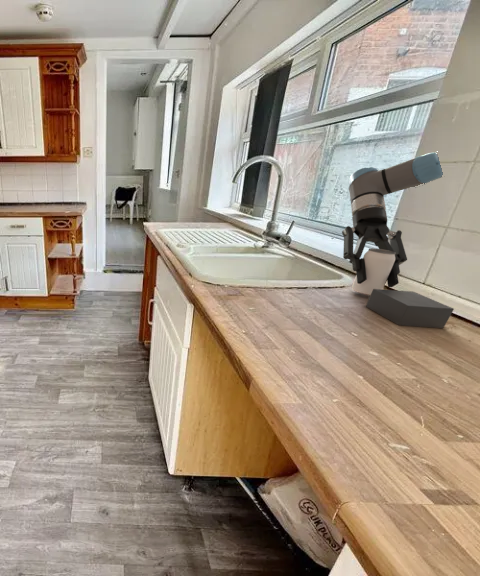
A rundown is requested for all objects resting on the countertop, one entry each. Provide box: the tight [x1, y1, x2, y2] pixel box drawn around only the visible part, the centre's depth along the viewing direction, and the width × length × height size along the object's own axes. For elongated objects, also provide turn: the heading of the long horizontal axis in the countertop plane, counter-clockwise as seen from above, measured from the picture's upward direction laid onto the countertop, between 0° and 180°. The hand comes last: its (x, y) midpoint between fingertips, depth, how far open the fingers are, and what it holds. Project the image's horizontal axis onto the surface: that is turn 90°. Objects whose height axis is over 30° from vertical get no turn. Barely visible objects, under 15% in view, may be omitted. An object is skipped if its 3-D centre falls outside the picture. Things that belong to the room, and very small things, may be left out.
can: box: [351, 247, 396, 296], centre depth 85 cm, size 6×6×12 cm
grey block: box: [365, 289, 455, 329], centre depth 74 cm, size 10×10×5 cm
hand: (377, 283), depth 82 cm, fingers closed on can, 6 cm apart
